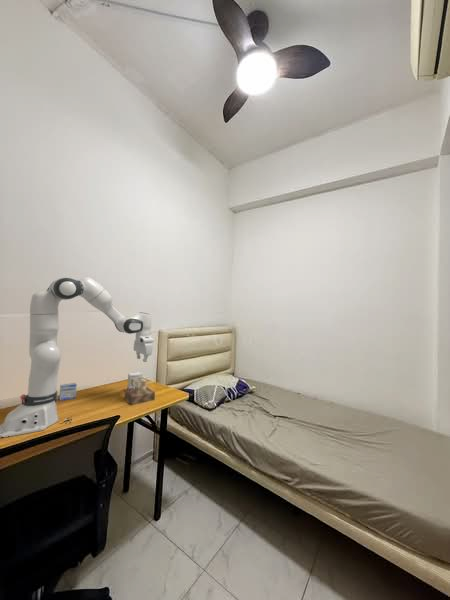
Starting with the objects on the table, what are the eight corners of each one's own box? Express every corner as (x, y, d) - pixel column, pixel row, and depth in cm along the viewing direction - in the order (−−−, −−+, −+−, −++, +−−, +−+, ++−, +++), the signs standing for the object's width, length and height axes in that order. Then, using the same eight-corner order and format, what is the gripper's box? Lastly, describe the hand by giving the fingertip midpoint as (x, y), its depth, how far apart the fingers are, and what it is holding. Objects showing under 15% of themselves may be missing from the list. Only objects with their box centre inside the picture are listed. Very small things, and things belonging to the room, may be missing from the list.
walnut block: (131, 406, 138) (132, 397, 138) (124, 399, 147) (125, 391, 147) (154, 400, 147) (154, 392, 148) (146, 394, 156) (146, 387, 156)
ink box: (128, 393, 157) (129, 375, 157) (126, 390, 161) (127, 373, 161) (141, 390, 162) (142, 373, 162) (139, 388, 166) (140, 371, 166)
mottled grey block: (137, 393, 144) (138, 382, 144) (134, 391, 148) (135, 380, 148) (145, 392, 147) (146, 380, 147) (142, 389, 151) (143, 378, 151)
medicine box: (60, 401, 139) (61, 386, 140) (59, 398, 143) (60, 384, 143) (75, 398, 144) (76, 384, 145) (74, 396, 148) (75, 382, 148)
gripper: (131, 336, 154) (130, 357, 153) (144, 340, 139) (143, 364, 138) (141, 336, 158) (139, 356, 158) (154, 340, 143) (153, 362, 143)
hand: (141, 360), depth 148 cm, fingers open, 8 cm apart
